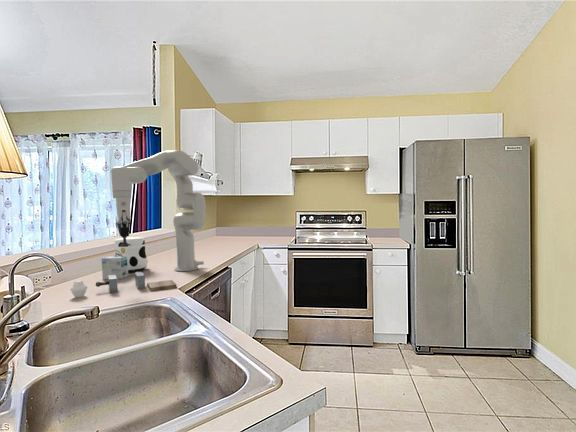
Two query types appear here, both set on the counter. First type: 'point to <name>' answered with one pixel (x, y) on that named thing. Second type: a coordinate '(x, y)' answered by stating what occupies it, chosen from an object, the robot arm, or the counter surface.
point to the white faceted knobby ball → (78, 289)
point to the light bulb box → (115, 266)
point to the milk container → (132, 252)
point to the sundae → (120, 232)
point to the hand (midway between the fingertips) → (124, 235)
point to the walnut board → (161, 285)
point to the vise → (113, 282)
